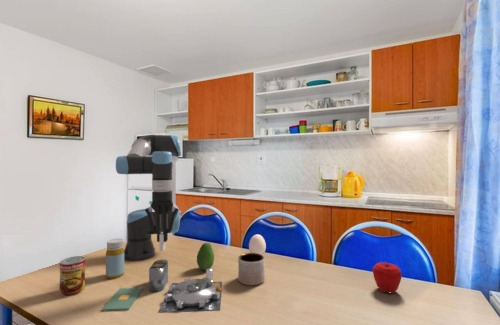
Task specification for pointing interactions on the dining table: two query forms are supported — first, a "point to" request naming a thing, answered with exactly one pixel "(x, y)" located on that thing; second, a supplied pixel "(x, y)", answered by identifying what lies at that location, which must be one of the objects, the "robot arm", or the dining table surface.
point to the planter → (251, 269)
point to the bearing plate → (210, 305)
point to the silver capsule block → (158, 276)
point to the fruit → (205, 256)
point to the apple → (387, 276)
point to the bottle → (114, 258)
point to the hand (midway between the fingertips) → (162, 249)
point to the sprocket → (194, 291)
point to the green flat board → (122, 299)
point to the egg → (257, 244)
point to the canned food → (72, 276)
